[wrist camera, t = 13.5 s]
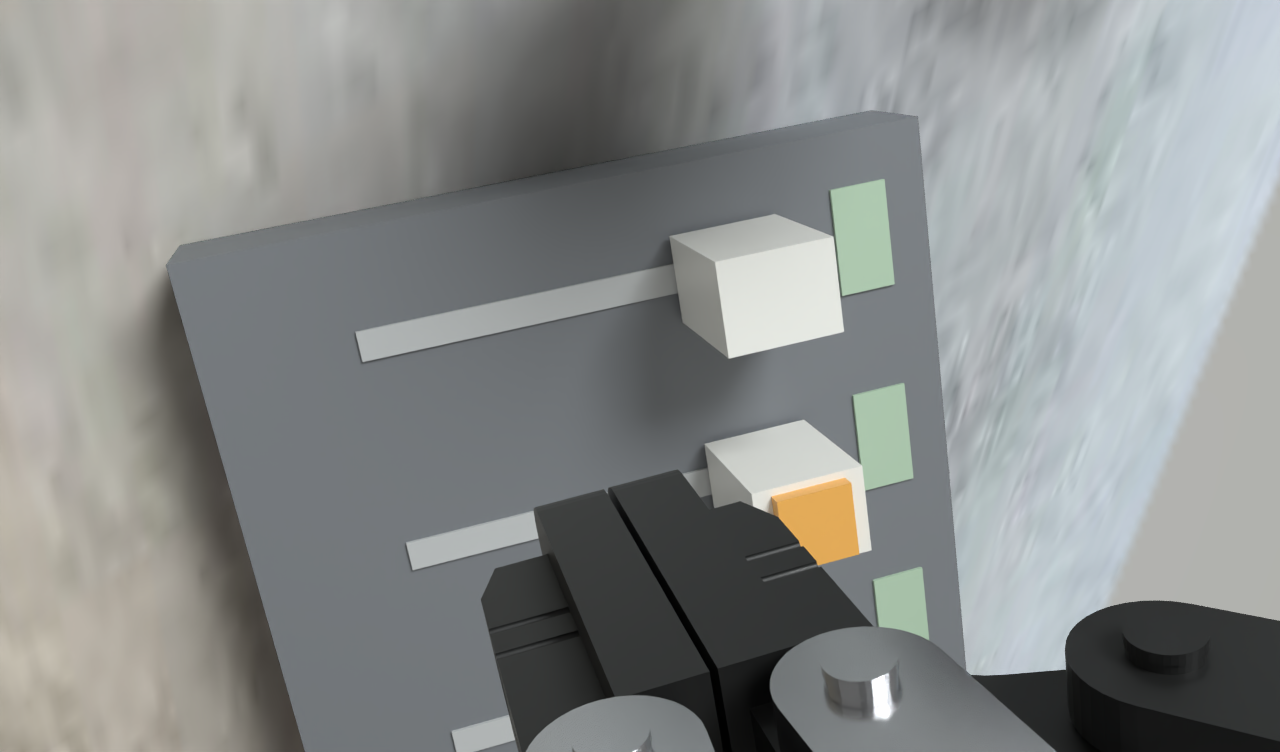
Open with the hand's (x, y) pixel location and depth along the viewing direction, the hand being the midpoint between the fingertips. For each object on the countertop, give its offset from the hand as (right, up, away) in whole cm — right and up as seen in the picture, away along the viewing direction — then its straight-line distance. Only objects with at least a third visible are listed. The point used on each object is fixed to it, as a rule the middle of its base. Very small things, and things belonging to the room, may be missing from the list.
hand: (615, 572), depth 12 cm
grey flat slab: (-1, -1, +25) cm, 25 cm away
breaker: (+3, +5, +21) cm, 21 cm away
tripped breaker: (+4, -1, +22) cm, 23 cm away
